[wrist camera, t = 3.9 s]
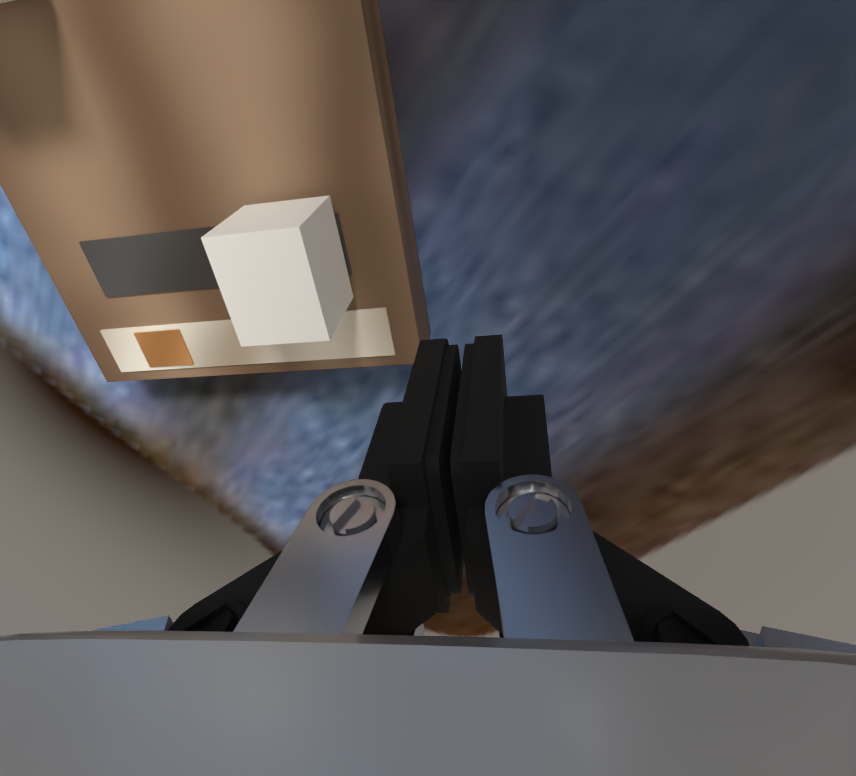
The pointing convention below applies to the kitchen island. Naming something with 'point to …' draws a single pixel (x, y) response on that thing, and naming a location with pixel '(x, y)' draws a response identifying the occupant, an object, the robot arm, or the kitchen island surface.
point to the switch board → (204, 169)
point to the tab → (281, 271)
